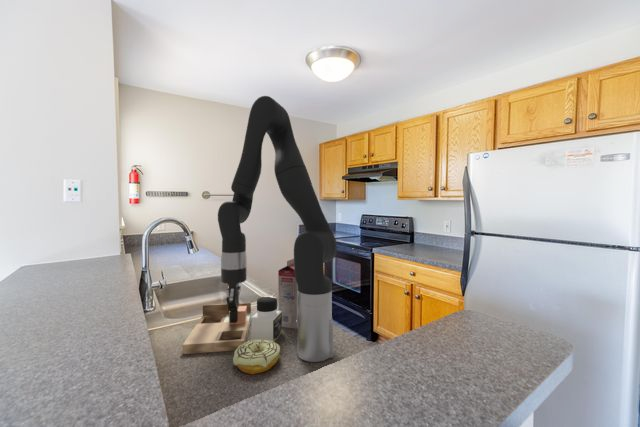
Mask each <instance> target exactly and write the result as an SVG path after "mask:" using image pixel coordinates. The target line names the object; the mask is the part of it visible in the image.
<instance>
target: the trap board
mask: <svg viewBox="0 0 640 427" xmlns="http://www.w3.org/2000/svg"><path fill="white" fill-rule="evenodd" d="M238 306H247V318H246V323H245V324H231V325H229V311H228V305H227V303H211V304H207V303H206V304H205V303H204V304H202V316H201V317H200V319H199V320H198V322H197V323H196V325H195V326H194V328H193V329H192V331H191V332H190V333H189V335H188V336H187V338H186V339H185V341H184V342H183V343H182V354H183V355H187V354H188V355H189V354H200V353H201V354H202V353H203V354H204V353H216V352H217V353H219V352H228V351H232V352H233V351H235V350H236V349H237V348H238V347H239V346H240V345H241V344H243V343H245V342H247V339H248V333H249V329H250V327H251V318H252V302H239V305H238Z"/></svg>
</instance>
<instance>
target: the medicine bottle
mask: <svg viewBox="0 0 640 427" xmlns="http://www.w3.org/2000/svg"><path fill="white" fill-rule="evenodd" d="M277 299H278V298H277ZM277 299H276V298H275V297H272V295H266V296H261V297H259V298H257V300H256V312H255V314H253V315H252V316H251V321H250V327H251V328H250V331H251V333H250V336H251V337H250V339H251V340H258V339H262V340H270V341H274V342H275V343H276V340H278V338H279V337H280V336H281V334H282V332H283V330H282V328H283V327H282V311H278V306H277ZM251 340H250V341H251Z"/></svg>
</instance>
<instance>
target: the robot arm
mask: <svg viewBox="0 0 640 427" xmlns="http://www.w3.org/2000/svg"><path fill="white" fill-rule="evenodd" d="M266 134H267V135H268V137H269V139H270V141H271V143H272V146H273V149H274V153H275V156H274V175H275V179H276V182H277V185H278V187H279V190H280V193H281V195H282V197H283V198H284V199H285V201H286V202H287V203H288V204H289V206H290V207H291V208H292V209H293V210H294V212H295V213H296V214H297V215H298V217H299V218H300V220H301V222H302V224H303V227H304V229H305V231H303V232H301V233H300V234H298V235H297V237H296V238H295V241H294V246H293V259H294V271H295V279H296V282H297V285H298V328H297V334H296V335H297V340H296V341H297V348H296V349H297V351H296V352H297V356H298V357H299V359H301V360H303V361H306V362H308V363H309V362H310V363H318V362H319V363H320V362H324V361H327V360H328V359H332V358H334V320H333V316H332V312H333V311H332V310H333V308H332V307H333V303H332V302H333V299H332V296H333V293H332V292H333V284H332V283H333V281H332V280H331V278H330V277H328V276H326V275H325V265H324V264H325V263H328V262H330V261H332V260H334V258H335V257H336V255H337V251H338V243H337V240H336V238H335V234H334V233H333V230H332V229H331V227H330V224H329V222H328V220H327V218H326V216H325V214H324V212H323V210H322V207H321V205H320V202H319V200H318V197H317V194H316V191H315V189H314V186H313V183H312V180H311V178H310V175H309V172H308V169H307V167H306V165H305V162H304V159H303V156H302V154H301V152H300V148H299V147H298V145H297V142H296V139H295V135H294V131H293V127H292V123H291V119H290V116H289V113H288V111H287V110H286V109H285V108H284V107H283V106H282V104H280V103H279V102H278V101H276V100H275V99H274V98H272V97H271V96H270V95H269V96H268V95H262V96H259V97H257V99H255V101H253V104H252V105H251V107H250V110H249V115H248V121H247V125H246V131H245V134H244V142H243V148H242V152H241V155H240V160H239V164H238V166H237V168H236V171H235V174H234V177H233V178H232V183H231V188H230V189H231V192H233V195H232V200H229V201H224V202H223V203H222V204H221V205H220V206H219V208H218V211H217V222H218V226H219V227H218V228H219V231H220V235H221V259H220V281H221V283H222V284H227V285H228V286H227V288H226V291H225V292H226V293H225V294H226V296H227V297H226V300H225V301H226V304H227V305H228V311H230V323H236V322H237V320H238V307H239V306H238V305H239V303H240V300H241V291H242V285H240V284H241V283H244V282H246V281H247V259H248V258H247V252H246V249H247V248H246V247H247V246H246V245H247V241H246V240H247V238H246V235H245V233H243V232H242V228H241V224H243V223H245V222H246V221H247V220H248V218H249V216H250V214H251V210H252V207H253V200H254V193H255V190H256V188H257V186H258V182H259V179H260V177H261V174H262V163H263V162H262V153H263V152H262V150H263V143H264V139H265V136H266Z"/></svg>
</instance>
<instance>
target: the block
mask: <svg viewBox="0 0 640 427" xmlns="http://www.w3.org/2000/svg"><path fill="white" fill-rule="evenodd" d="M246 318H247V306H239V307H238V320H237V322H236V323H230V311H229V325H231V324H245V323H246Z"/></svg>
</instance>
